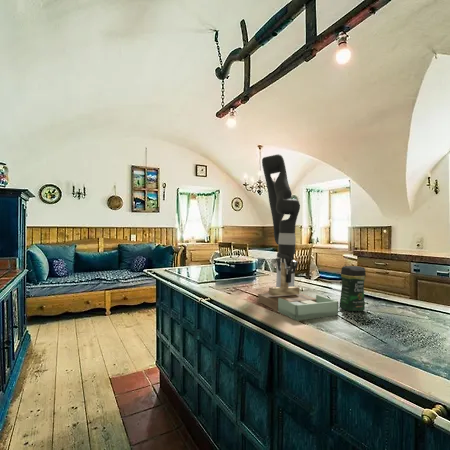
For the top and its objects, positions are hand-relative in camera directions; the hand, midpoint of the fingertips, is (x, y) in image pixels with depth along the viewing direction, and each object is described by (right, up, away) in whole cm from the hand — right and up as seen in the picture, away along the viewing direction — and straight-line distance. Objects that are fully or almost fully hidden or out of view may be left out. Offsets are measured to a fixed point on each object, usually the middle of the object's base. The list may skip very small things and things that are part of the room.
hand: (286, 281), depth 132 cm
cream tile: (+8, -8, -10) cm, 15 cm away
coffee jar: (+27, -11, -7) cm, 30 cm away
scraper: (-1, -6, 0) cm, 6 cm away
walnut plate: (0, -10, -1) cm, 10 cm away
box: (+6, -10, -14) cm, 18 cm away
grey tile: (+1, -8, -13) cm, 15 cm away
